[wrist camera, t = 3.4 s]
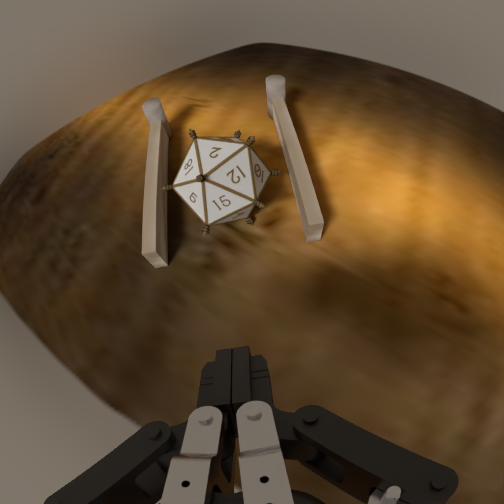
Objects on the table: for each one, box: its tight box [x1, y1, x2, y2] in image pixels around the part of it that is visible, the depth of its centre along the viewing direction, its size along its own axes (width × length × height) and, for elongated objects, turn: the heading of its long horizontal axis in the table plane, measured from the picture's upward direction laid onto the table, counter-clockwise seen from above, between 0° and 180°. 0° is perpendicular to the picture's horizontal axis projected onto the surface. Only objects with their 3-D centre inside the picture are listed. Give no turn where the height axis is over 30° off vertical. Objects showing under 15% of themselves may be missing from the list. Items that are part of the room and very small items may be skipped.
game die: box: [161, 129, 280, 236], centre depth 25 cm, size 9×8×10 cm
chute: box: [142, 75, 324, 268], centre depth 28 cm, size 15×18×5 cm
